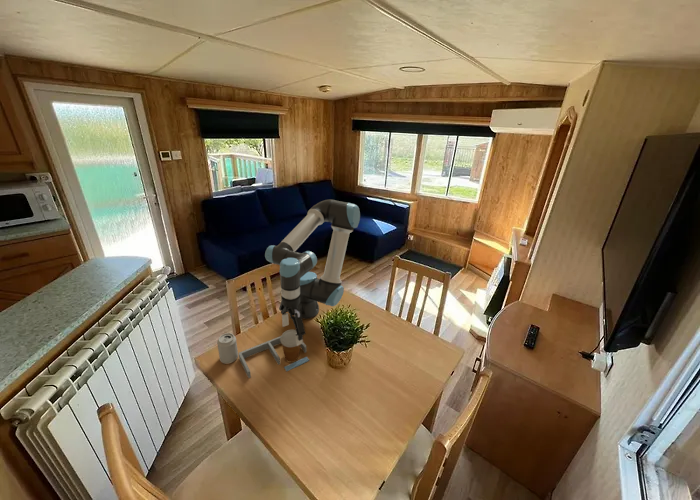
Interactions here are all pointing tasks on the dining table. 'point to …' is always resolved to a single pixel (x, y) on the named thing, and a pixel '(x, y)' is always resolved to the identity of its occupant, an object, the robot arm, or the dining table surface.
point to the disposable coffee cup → (290, 345)
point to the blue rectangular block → (296, 364)
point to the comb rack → (260, 348)
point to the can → (227, 348)
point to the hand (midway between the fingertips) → (292, 334)
